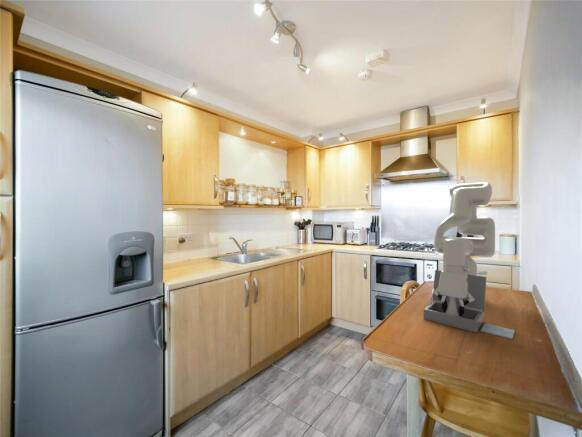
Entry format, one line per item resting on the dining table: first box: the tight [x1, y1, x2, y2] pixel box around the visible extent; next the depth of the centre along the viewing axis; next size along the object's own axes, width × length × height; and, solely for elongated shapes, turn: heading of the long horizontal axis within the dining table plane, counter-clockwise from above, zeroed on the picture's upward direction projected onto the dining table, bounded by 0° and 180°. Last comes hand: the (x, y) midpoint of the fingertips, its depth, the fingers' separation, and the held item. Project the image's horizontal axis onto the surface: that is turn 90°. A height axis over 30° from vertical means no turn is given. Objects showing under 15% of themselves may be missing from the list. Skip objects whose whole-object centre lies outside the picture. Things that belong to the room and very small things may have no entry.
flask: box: [445, 297, 461, 317], centre depth 107 cm, size 7×7×10 cm
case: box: [423, 300, 484, 333], centre depth 108 cm, size 15×18×5 cm
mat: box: [480, 323, 516, 340], centre depth 97 cm, size 9×9×1 cm
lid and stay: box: [427, 269, 487, 313], centre depth 112 cm, size 9×19×15 cm, turn 46°
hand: (452, 313), depth 107 cm, fingers closed on flask, 4 cm apart
